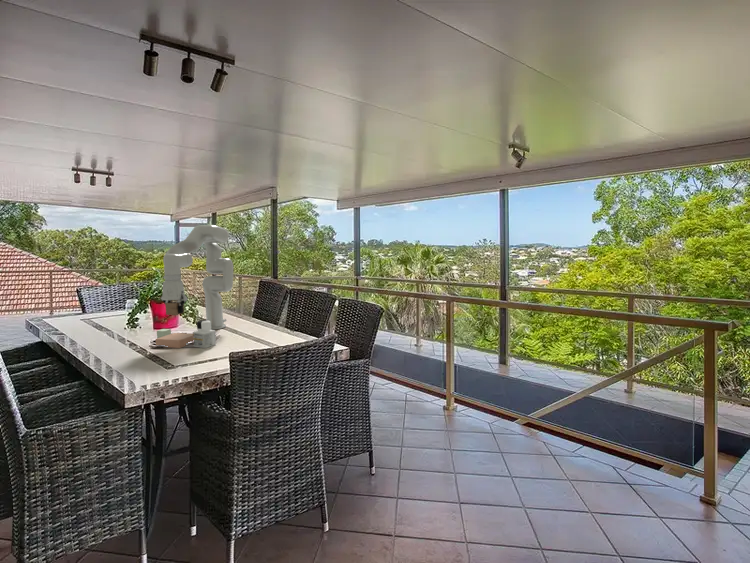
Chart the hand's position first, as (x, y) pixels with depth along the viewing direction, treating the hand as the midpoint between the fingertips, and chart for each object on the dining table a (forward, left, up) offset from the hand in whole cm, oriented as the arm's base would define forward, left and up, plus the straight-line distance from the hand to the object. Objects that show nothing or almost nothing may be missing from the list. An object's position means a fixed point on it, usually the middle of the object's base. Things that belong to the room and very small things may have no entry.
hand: (175, 312), depth 227 cm
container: (+1, +17, -17) cm, 24 cm away
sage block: (-9, -15, -17) cm, 24 cm away
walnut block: (0, 0, -1) cm, 1 cm away
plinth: (0, 0, -17) cm, 17 cm away
